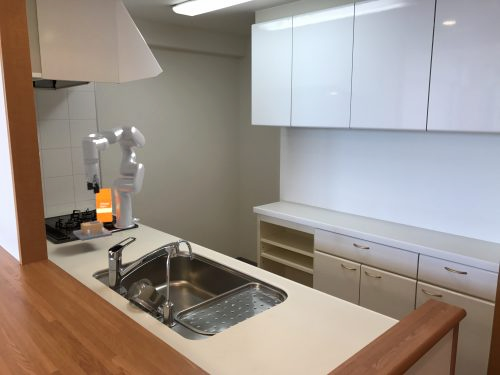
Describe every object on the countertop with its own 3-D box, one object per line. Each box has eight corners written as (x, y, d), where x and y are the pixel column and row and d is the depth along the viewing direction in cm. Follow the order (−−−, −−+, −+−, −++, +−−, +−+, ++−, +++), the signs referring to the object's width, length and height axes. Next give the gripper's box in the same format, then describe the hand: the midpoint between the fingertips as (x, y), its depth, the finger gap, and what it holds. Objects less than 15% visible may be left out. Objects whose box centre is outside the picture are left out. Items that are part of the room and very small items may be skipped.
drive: (99, 229, 231) (99, 220, 230) (103, 231, 227) (103, 222, 226) (81, 232, 225) (80, 223, 224) (85, 235, 221) (84, 226, 220)
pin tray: (101, 228, 237) (101, 221, 236) (112, 235, 225) (112, 227, 224) (73, 233, 227) (72, 225, 226) (82, 240, 215) (81, 233, 214)
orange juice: (97, 219, 260) (96, 188, 257) (112, 218, 263) (110, 187, 259) (97, 222, 253) (95, 190, 249) (112, 221, 256) (110, 190, 252)
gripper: (78, 159, 230) (81, 189, 234) (89, 164, 217) (92, 195, 221) (92, 158, 234) (94, 187, 238) (103, 162, 222) (106, 193, 226)
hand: (93, 191), depth 230 cm, fingers open, 9 cm apart
